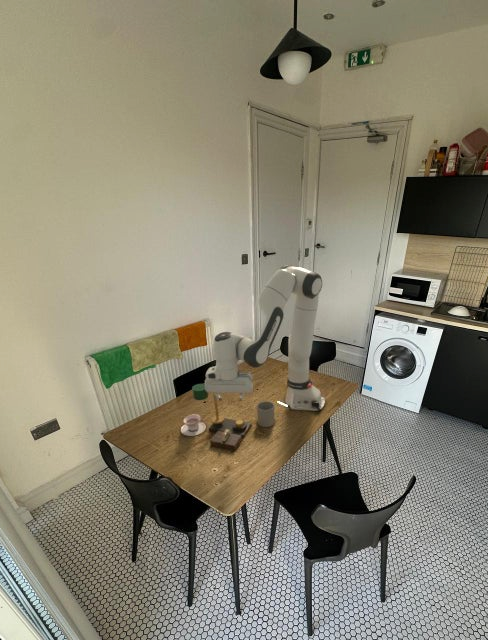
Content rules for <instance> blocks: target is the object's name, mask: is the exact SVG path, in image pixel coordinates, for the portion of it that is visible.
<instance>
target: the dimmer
mask: <svg viewBox="0 0 488 640" xmlns="http://www.w3.org/2000/svg"><path fill="white" fill-rule="evenodd" d="M223 433H224V432H222V431H217V432H215V434H214V435H213V436H212V438H211V439H210V440H209V444H210V447H214V448H220V449H224V450H229V451H233V452H236V450H237V448H238V447H239V445H240V444H241V443H242V441H243V437H242V435H237V434H232V433H230V435H229V437H228V438H227V440H226V441H222V434H223Z"/></svg>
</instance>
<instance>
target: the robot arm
mask: <svg viewBox="0 0 488 640" xmlns="http://www.w3.org/2000/svg"><path fill="white" fill-rule="evenodd" d="M322 288H323V279H322V277H321V275H320V274H319V273H318V272H316V271H314V270H313V271H311V270H310V269H307V268H304V267H299V266H298V267H297V266H293V265H283V266H281V267H280V268H279V269H278V270H276V272H274V274H273V275H272V276H271V277H270V278H269V279H268V281H267V282H266V284H265V285H264V287H263V289H262V290H261V292H260V294H259V297H258V300H257V301H258V306H259V309H260V311H261V312H262V313H263V314H264V316H265V323H264V326H263V327H262V330H261V332H260V335H259V337H258V338H257V339H256V340H255V339H253V338H251V337H249V336H246V335H243V334H234V333H233V332H230V331H223V332H220V333H218V334H216V335H215V336H214V338H213V339H214V340H213V352H214V353H213V354H214V358H215V361H216V362H215V366H211V367H209V368H208V369H207V370H206V373H205V380H204V384H205V390H206V391H207V392H208V393H213V392H214V394H215V396H216V397H217V402H218V401H220V402H221V401H222V400H223V397H222V395H220V393H225V394H227V393H228V394H232V393H233V394H241V395H239V397H238V401H239V402H243V401H244V397H245V395H246V394H251V393H253V390H254V383H253V380H254V376H253V374H252V373H251V372H249V371H239V363H238V362H239V361H243V362H244V363H245V364H247V365H248V366H250V367H251V368H259V367H262V366H264V364H266V362H267V361H268V359H269V356H270V352H271V348H272V346H273V344H274V341H275V340H276V336H277V334H278V332H279V330H280V328H281V325H282V323H283V319H284V315H285V314H284V309H285V306H286V304H287V302H288V301H289V299H290V297H291V295H292V294H294V295H295V300H294V306H293V311H292V312H293V314H292V321H291V328H290V334H289V336H288V345H287V347H288V348H287V350H288V353H287V354H288V357H287V358H288V361H287V362H288V363H287V365H288V367H287V369H288V370H287V375H288V376H287V378H286V388H287V389H286V396H285V398H284V402H285V403H283V402H281V401H277V403H278V404H280V405H283V406H285V407H288V406H289V408H290V409H291V410H296V411H314V412H321V411H322V409H324V407H325V404H326V399H325V397H323V396H322V393H321V391H320V390H319V389H318V388H317V387H316V386H314V385H313V379H311V378H309V376H310V357H311V354H312V350H313V341H314V331H315V323H316V318H317V312H318V307H319V295H320V293H321V290H322ZM214 394H213V395H214Z"/></svg>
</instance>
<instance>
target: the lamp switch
mask: <svg viewBox="0 0 488 640" xmlns="http://www.w3.org/2000/svg"><path fill="white" fill-rule="evenodd" d="M243 421H244V420H242V419H238V420H237V421H236V426H237V427H242V426H243Z"/></svg>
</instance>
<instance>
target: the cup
mask: <svg viewBox="0 0 488 640" xmlns="http://www.w3.org/2000/svg"><path fill="white" fill-rule="evenodd" d="M256 411H257V412H256V413H257V415H256V416H257V425H258V426H260V427H263V428H269V427H272V426H273V425H274V424H275V404H274V403H273V402H271V401H267V400H265V401H260V402H259V403H257V405H256Z"/></svg>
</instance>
